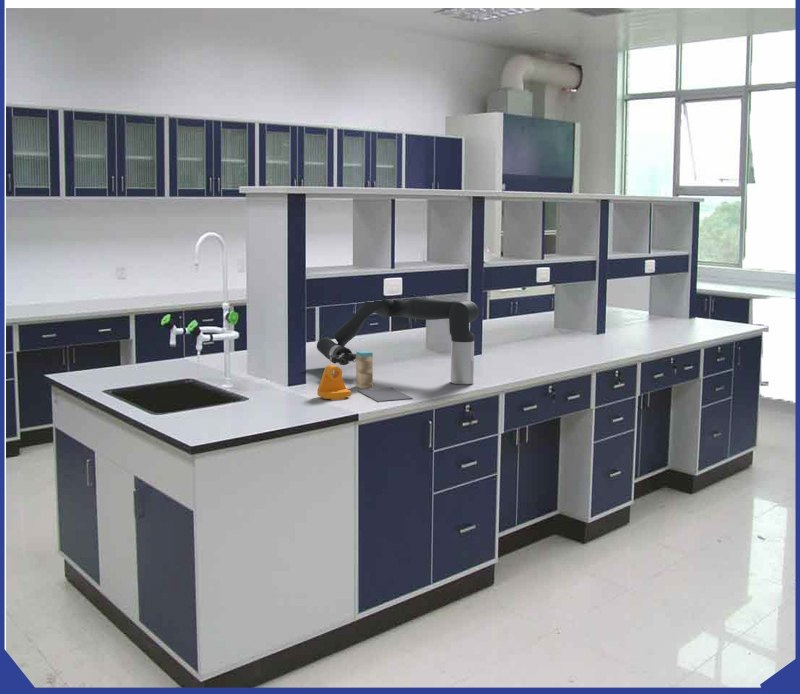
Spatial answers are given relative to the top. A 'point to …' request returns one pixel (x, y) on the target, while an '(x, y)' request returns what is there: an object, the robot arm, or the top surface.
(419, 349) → the top surface
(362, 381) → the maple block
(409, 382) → the top surface
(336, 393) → the bracket
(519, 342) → the top surface
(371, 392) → the rubber mat
